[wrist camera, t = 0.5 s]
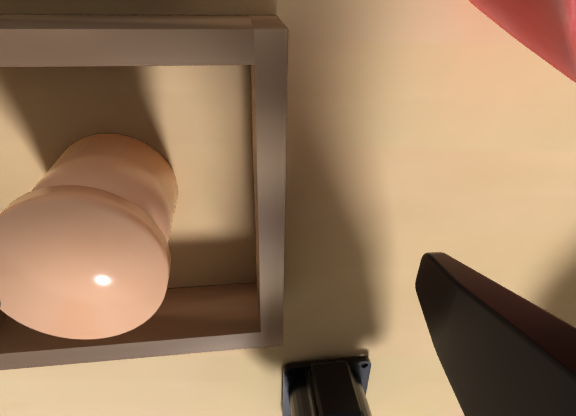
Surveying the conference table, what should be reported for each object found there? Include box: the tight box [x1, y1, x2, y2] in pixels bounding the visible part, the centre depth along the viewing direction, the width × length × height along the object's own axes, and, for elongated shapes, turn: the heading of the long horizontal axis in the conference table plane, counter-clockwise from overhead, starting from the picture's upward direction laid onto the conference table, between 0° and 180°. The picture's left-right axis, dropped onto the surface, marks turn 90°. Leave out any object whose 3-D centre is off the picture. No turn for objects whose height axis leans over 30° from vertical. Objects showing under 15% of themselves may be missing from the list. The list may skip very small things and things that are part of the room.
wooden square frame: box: [0, 14, 288, 370], centre depth 20 cm, size 16×16×4 cm
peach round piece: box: [0, 134, 178, 339], centre depth 18 cm, size 7×7×7 cm
